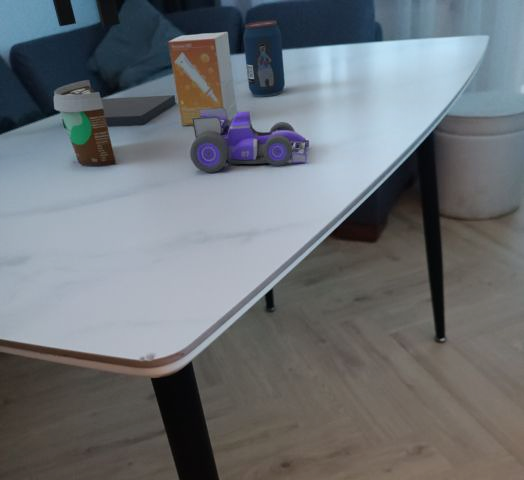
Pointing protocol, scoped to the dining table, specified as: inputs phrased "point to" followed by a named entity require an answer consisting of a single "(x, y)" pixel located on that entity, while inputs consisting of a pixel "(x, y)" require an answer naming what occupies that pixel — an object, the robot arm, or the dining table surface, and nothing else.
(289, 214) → the dining table surface
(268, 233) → the dining table surface
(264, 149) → the toy race car
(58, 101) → the food container
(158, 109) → the scale
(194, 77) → the small box
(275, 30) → the soda can
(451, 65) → the dining table surface
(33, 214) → the dining table surface
